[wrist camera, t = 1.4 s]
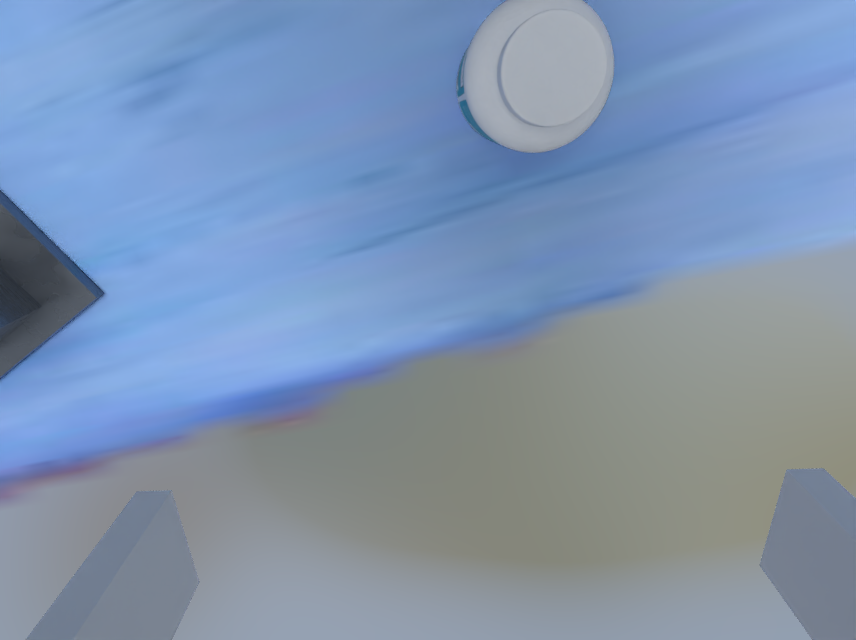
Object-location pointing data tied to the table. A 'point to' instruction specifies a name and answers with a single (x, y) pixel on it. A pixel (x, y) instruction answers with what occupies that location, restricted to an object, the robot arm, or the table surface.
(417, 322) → the table surface
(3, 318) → the stand
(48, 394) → the table surface
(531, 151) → the pill bottle
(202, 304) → the table surface
